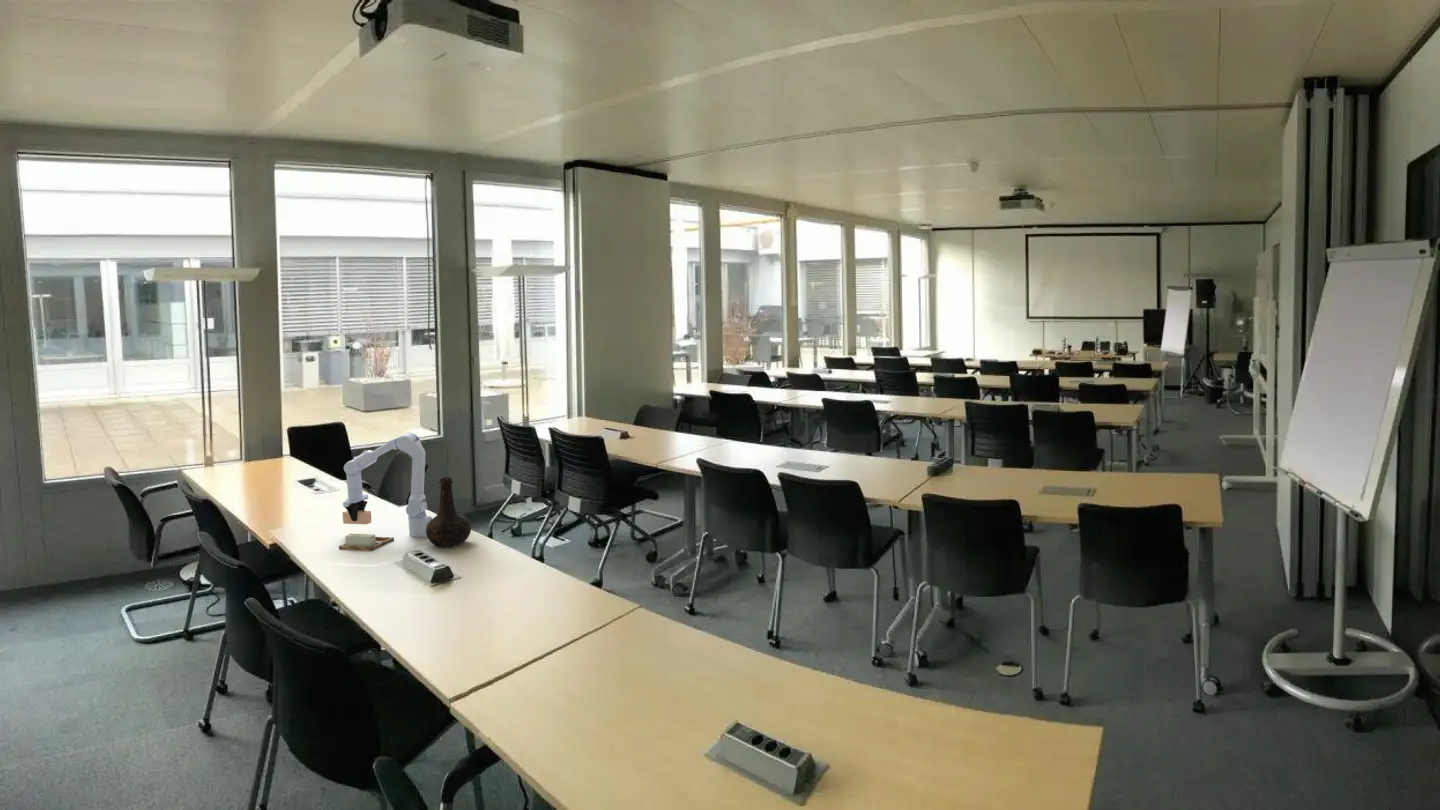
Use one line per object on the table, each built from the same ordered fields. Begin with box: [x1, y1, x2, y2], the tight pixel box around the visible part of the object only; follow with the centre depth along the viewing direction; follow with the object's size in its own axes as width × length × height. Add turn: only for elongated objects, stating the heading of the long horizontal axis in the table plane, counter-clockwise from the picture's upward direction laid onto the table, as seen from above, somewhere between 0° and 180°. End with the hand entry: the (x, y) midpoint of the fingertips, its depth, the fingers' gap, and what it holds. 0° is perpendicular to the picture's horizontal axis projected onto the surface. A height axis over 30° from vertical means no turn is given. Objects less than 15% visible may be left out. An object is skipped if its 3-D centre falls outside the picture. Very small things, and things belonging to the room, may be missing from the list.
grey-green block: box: [345, 533, 376, 547], centre depth 345 cm, size 11×4×5 cm, turn 78°
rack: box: [338, 536, 395, 551], centre depth 349 cm, size 15×15×2 cm
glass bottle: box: [426, 476, 472, 548], centre depth 347 cm, size 18×18×28 cm
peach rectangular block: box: [342, 510, 372, 525], centre depth 361 cm, size 11×4×5 cm, turn 78°
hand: (357, 519), depth 361 cm, fingers closed on peach rectangular block, 3 cm apart
